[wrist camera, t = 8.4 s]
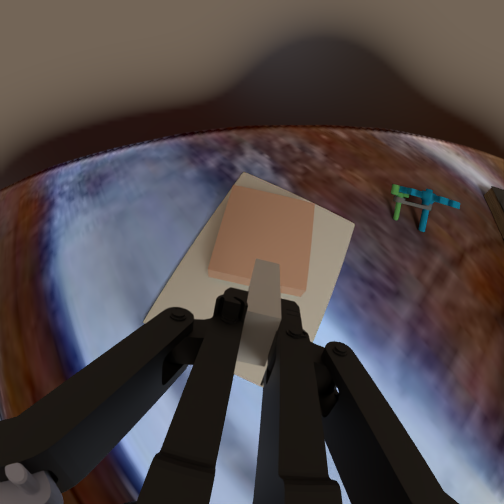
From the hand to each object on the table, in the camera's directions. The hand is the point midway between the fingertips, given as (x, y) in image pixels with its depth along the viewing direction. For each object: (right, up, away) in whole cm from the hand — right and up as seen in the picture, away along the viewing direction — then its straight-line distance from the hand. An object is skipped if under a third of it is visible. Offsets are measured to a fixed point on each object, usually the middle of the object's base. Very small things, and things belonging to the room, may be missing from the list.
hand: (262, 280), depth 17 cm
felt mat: (0, 0, +10) cm, 10 cm away
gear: (+22, +8, +17) cm, 29 cm away
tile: (0, -1, +8) cm, 8 cm away
